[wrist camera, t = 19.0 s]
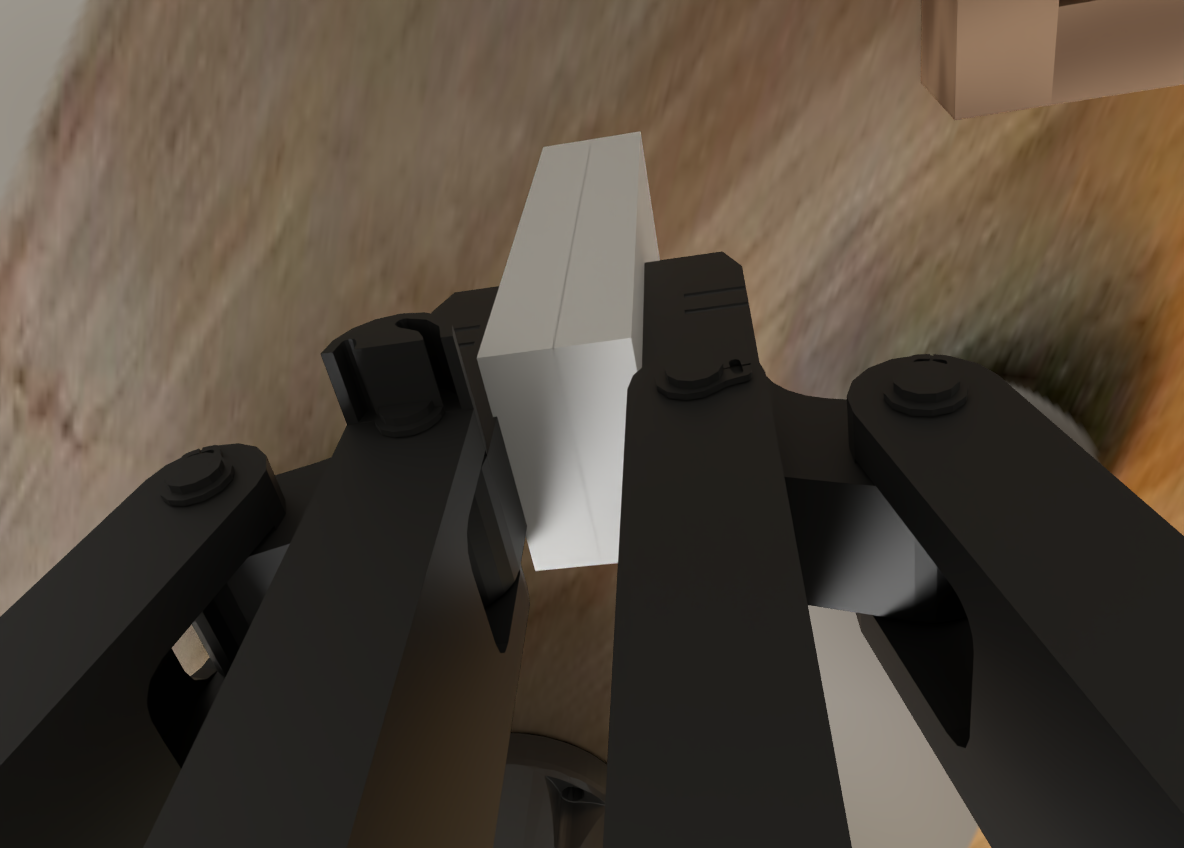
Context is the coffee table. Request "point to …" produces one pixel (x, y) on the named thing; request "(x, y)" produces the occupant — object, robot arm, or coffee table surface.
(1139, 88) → the block
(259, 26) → the coffee table surface
